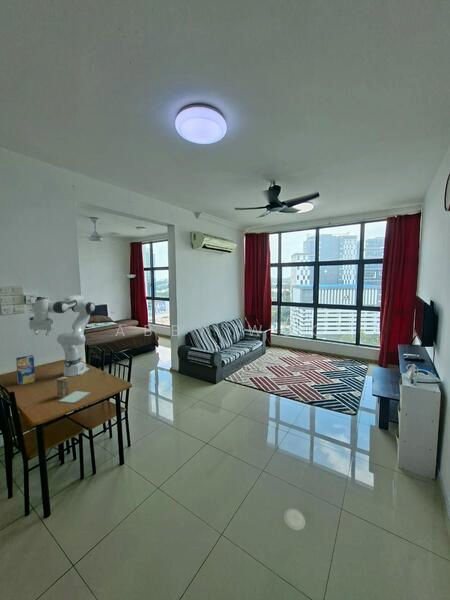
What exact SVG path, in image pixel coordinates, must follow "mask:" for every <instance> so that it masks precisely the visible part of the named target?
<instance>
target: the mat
mask: <svg viewBox="0 0 450 600" xmlns="http://www.w3.org/2000/svg"><path fill="white" fill-rule="evenodd" d="M91 394H92V393H91V392H87V391H78V390H74V391H73V392H71V393H69V395H67V396H66V397H64V398H59V400H58V401H57V402H59V403H68V404H77V403H79V402H80V401H81V400H83V399H85V398H86V397H87V396H89V395H91Z"/></svg>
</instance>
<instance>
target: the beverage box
mask: <svg viewBox="0 0 450 600" xmlns="http://www.w3.org/2000/svg"><path fill="white" fill-rule="evenodd" d="M16 373H17V374H16V375H17V376H16V377H17V384H18V386H21V385H24V384H29V383H35V382H36V380H35V379H36V375H35V373H36V372H35V356H34V355H33V354H31V355H26V356H24V355H23V356H19V357H16Z"/></svg>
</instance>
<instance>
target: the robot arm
mask: <svg viewBox="0 0 450 600" xmlns="http://www.w3.org/2000/svg"><path fill="white" fill-rule="evenodd" d="M33 303H34V304H33V306H34V307H33V309H34V315H33V316H29V318H28V320H29V323H28V324H29V325H28V326H29V329H30V330H33V331H34V333H35V335H36V336H39V335H40V332H39V330H41V331H46V333H45V336H49V335H50V332H51V331H53V330H55V321H54V319H52V318H50V317H49V314H50V313H51V314H64V313H66V311H68V310H70V309H71V310H72V312H74V313H79V314H78V316H77V317H76V318H75V320H74V321H73V323H72V325H71V329H72V331H73V332H64V333H63V332H62V333H59V335H58V336H57V337H56V341H57V344H60V346H61V347H62V349H63V353H64V365H63V377H75V376H81V375H83V374H85V373H86V372H87V371H89V370H90V368H89V367H87V365H86V363H84V362H83V361H82V360H83V357H80V355H79V354H80V352H79V348H76V346H82V345H83V344H85V342H86V336H85V334H84V332H85V329H86V327H87V326H88V323H89V321H90V318H91V315H92V314H93V313H94V311H95V309H96V305H95V303H93V302H91V301H85V298H84V296H83V295H80V294H73V295H68V296H66V297H65V298H64V300H62V301H60V300H58V301H55V300H53V301H52V300H49V299H48V297H37V298H36V299H35V300H34V302H33ZM85 371H86V372H85Z"/></svg>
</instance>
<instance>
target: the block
mask: <svg viewBox="0 0 450 600" xmlns="http://www.w3.org/2000/svg"><path fill="white" fill-rule="evenodd" d="M68 377H69V376H61V377H58V378H57V379H56V391H57V392H56V394H57V396H56V397H57V398H59V399H62V398H64V397H66V396H67V395H69V394H70V393H69V378H68Z"/></svg>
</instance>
